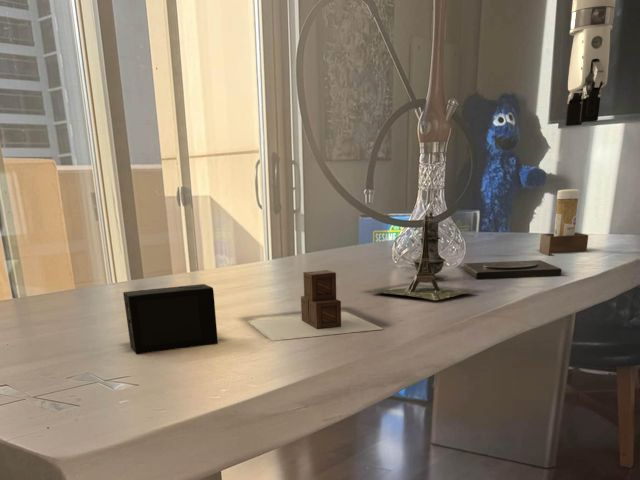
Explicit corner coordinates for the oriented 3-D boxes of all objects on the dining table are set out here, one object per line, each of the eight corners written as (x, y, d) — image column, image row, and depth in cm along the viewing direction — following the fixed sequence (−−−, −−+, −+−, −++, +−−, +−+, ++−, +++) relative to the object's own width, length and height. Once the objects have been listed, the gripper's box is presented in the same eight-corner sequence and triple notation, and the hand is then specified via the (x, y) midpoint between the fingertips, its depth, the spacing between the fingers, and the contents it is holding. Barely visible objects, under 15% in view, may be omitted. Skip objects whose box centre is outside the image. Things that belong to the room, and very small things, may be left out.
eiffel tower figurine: (367, 294, 117) (366, 210, 111) (408, 287, 122) (409, 206, 117) (436, 303, 106) (439, 209, 100) (478, 294, 111) (483, 205, 106)
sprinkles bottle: (571, 254, 156) (578, 189, 150) (550, 254, 158) (556, 190, 152) (573, 251, 159) (580, 188, 154) (552, 252, 161) (558, 189, 156)
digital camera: (207, 336, 91) (202, 282, 88) (219, 344, 86) (213, 286, 84) (129, 346, 88) (121, 290, 85) (136, 354, 83) (128, 295, 81)
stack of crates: (247, 321, 100) (243, 272, 97) (345, 311, 103) (344, 264, 100) (271, 341, 86) (268, 284, 84) (383, 329, 89) (384, 274, 87)
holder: (575, 250, 162) (577, 232, 160) (586, 253, 154) (588, 235, 153) (539, 252, 163) (540, 234, 161) (548, 255, 155) (550, 236, 154)
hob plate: (539, 266, 139) (540, 258, 138) (560, 275, 125) (561, 267, 125) (463, 269, 141) (464, 261, 140) (476, 279, 127) (476, 270, 126)
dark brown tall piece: (406, 280, 131) (407, 212, 126) (433, 277, 133) (435, 210, 128) (423, 283, 126) (425, 212, 121) (451, 280, 128) (454, 210, 123)
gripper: (629, 11, 123) (615, 119, 130) (597, 30, 139) (586, 125, 146) (585, 14, 124) (574, 121, 131) (558, 33, 140) (549, 127, 147)
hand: (580, 123), depth 138 cm, fingers open, 9 cm apart
